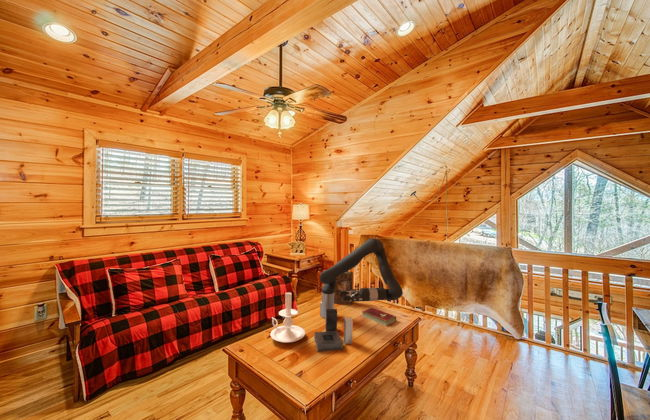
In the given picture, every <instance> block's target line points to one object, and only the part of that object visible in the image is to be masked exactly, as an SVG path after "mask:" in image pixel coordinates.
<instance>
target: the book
mask: <svg viewBox="0 0 650 420" xmlns="http://www.w3.org/2000/svg"><path fill="white" fill-rule="evenodd" d="M353 282H354V272H353V271H351V270H349V271H347V272H345V273H343V274H341V275H339V276H337V277H336V287H335V291H334V304H338V305H339V304H341V305H353V302H352V301H350V300H345V301H344V300H343V296H349V295H340V291H347V289H354V287H353V285H354V283H353Z"/></svg>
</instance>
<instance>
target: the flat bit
mask: <svg viewBox="0 0 650 420" xmlns="http://www.w3.org/2000/svg"><path fill="white" fill-rule="evenodd" d="M324 329H325V332H326V331H338V308H334V309H326V318H325V328H324Z"/></svg>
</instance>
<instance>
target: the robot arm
mask: <svg viewBox="0 0 650 420" xmlns="http://www.w3.org/2000/svg"><path fill="white" fill-rule="evenodd" d="M371 254H374V255H375V256H376V258H377V263H378V267H379V273H380V275H381V277H382V280H383V283H384V284H385V285H387V286H388V288H385V287H361V288H360V289H359V291H358V290H357V289H356V288H353V289H347V291H340V295H349V296H343V300H344V301H345V300H350V301H352V303H356V302H363V303H364V302H373V301H374V302H375V301H397V300H398V299H400V298H402V296H403V294H404V292H403V288H402V286H401V285H400V283H399V281H398V280H397V279H396V278H395V275H394V273H393V271H392V269H391V265H390V262H389V261H388V256H387V254H386V252H385V246H384V243H383V241H381V239H378V238H373V237H371V238H369V239H367V240H366V241H365V242H364V243H363V244H361V245H360V246H359V247H357V248H356V249H354V250H353V251H351V252H350V253H348V254H347V255H345V256H344V257H343V258H341V259H339V260H338V261H337V262H336V263H335V264H334V265H332V266H331V267H329V268H328V269H326V270H323V271H322V272H321V273H320V275H319V280H320V283H322V284H323V285H322V287H321V302H319V316H321V317H322V319H326V309H335V303H334V291H335V287H336V277H337V276H339V275H341V274H343V273H345V272H347V271H351V270H352V269H354V268H355V267H357V266H358V265H359V264H360V262H361V261H362V260H363V259H364V258H365V257H366V256H368V255H371Z"/></svg>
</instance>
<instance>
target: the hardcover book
mask: <svg viewBox="0 0 650 420" xmlns="http://www.w3.org/2000/svg"><path fill="white" fill-rule="evenodd" d="M361 314H362V315H361V316H362V317H363V318H366V319H369V320H370V321H373V322H375V323H378V324H379V325H382V326H385V327H387V326H389V325H391V324H394V323H395V322H397V316H396V315H393V314H390V313H388V312H386V311H383V310H381V309H378V308H375V307H372V306H371V307H369V308H366V309H364V310H362V311H361Z"/></svg>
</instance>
